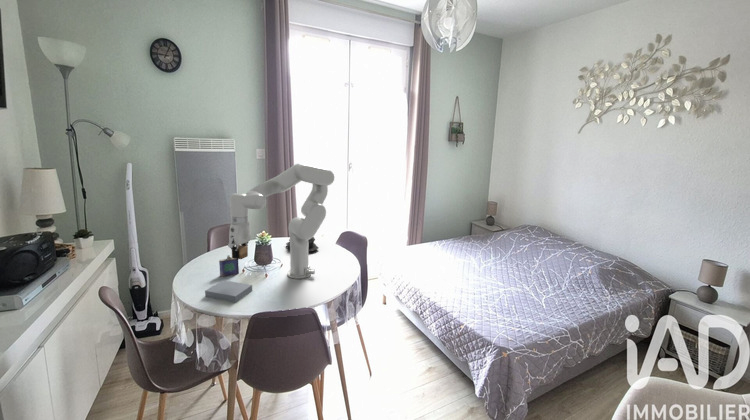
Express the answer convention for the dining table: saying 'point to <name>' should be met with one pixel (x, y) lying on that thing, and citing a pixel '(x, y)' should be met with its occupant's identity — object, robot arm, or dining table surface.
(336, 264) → the dining table surface
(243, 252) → the walnut cube
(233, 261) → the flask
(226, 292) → the block
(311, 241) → the casserole
